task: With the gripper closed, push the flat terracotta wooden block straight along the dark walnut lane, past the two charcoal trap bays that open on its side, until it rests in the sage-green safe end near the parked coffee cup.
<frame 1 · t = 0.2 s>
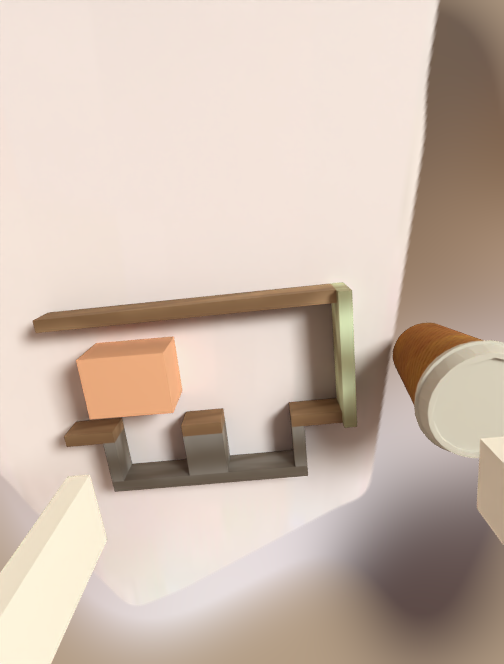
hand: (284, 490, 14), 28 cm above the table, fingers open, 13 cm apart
terracotta block: (140, 366, 43), resting in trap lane
disposable coffee cup: (422, 351, 42), on the table
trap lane: (197, 362, 42), on the table
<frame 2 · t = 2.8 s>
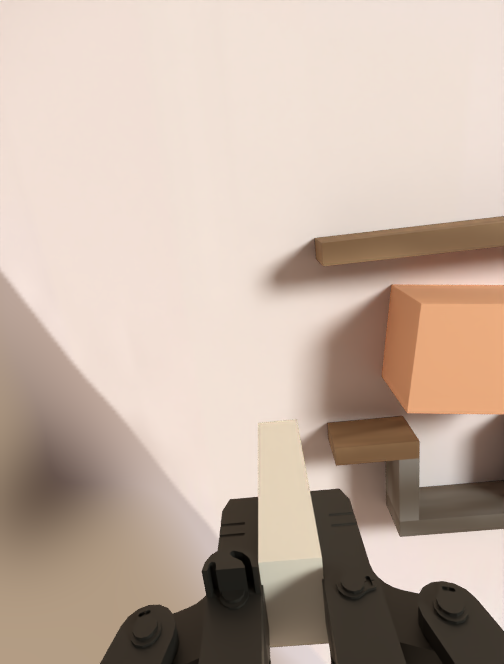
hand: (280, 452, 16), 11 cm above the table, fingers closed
terracotta block: (449, 331, 26), resting in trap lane
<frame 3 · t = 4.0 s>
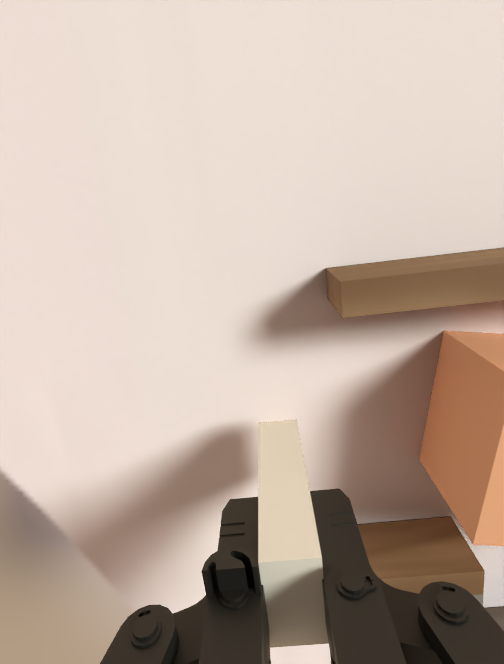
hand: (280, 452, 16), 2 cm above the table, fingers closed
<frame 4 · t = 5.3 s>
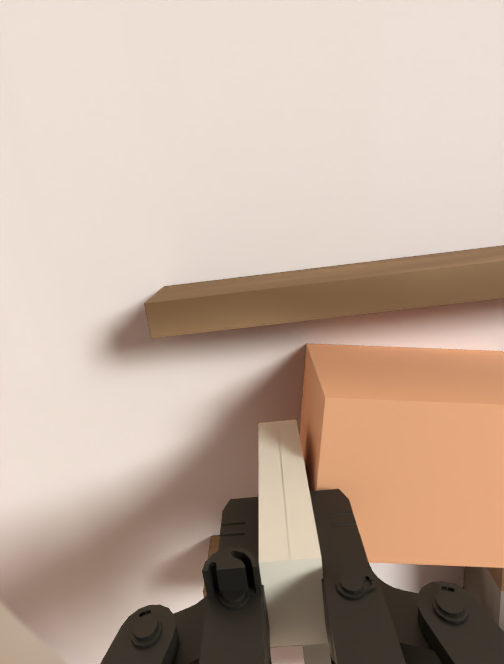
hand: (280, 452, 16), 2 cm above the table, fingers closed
terracotta block: (394, 413, 18), resting in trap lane
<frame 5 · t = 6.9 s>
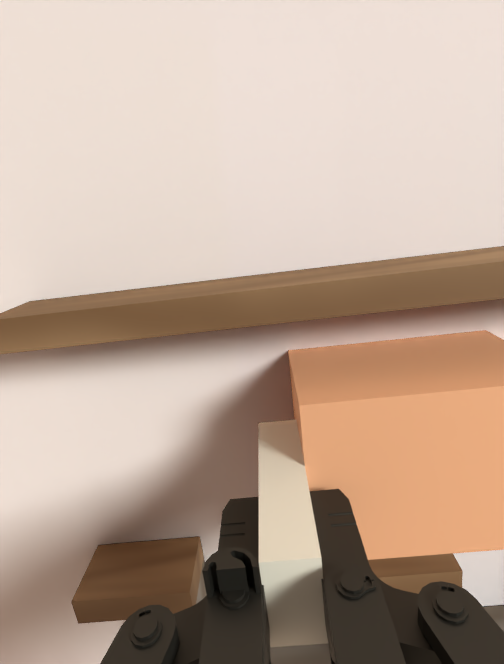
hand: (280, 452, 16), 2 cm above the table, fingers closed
terracotta block: (386, 405, 18), resting in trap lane, touching gripper
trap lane: (385, 415, 18), on the table
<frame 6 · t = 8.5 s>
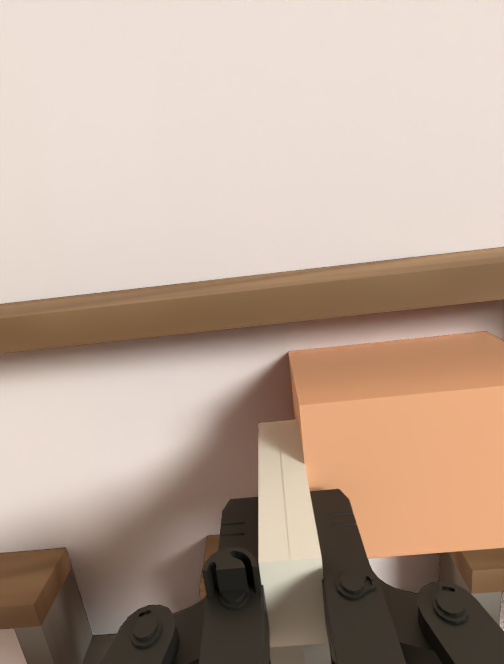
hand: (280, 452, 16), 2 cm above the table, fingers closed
terracotta block: (386, 405, 18), resting in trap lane, touching gripper
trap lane: (234, 430, 18), on the table
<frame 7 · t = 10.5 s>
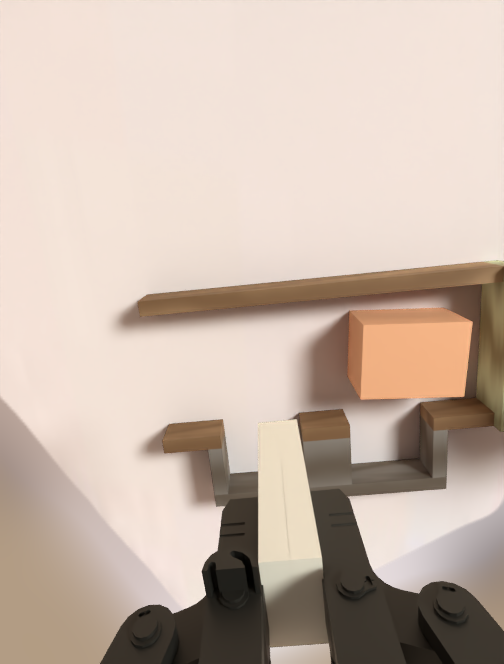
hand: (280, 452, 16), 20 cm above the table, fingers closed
terracotta block: (393, 342, 36), resting in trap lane
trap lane: (317, 354, 36), on the table
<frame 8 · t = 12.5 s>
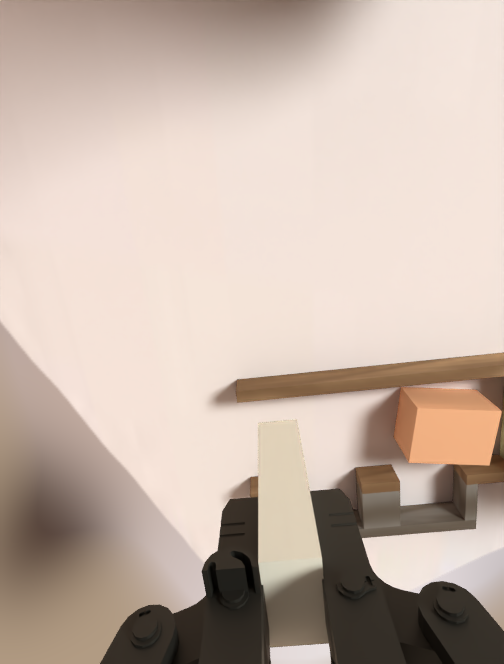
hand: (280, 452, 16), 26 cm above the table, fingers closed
terracotta block: (433, 413, 45), resting in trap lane
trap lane: (371, 422, 45), on the table
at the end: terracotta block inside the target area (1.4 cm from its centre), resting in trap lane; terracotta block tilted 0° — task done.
